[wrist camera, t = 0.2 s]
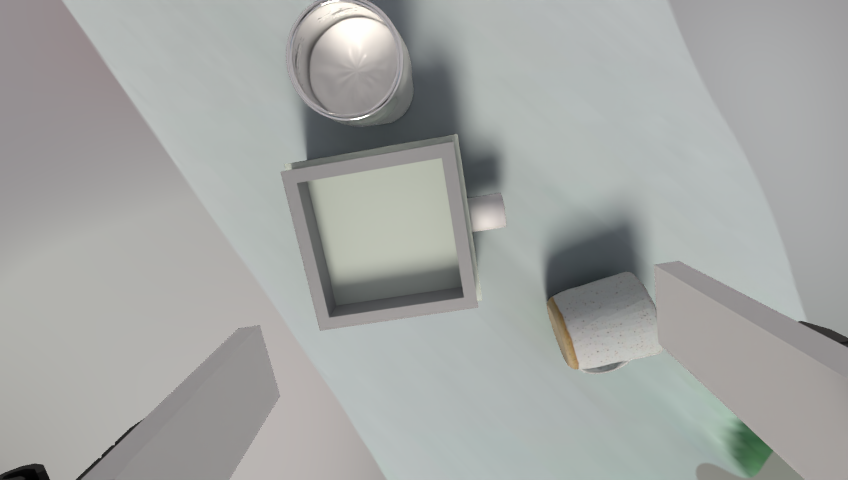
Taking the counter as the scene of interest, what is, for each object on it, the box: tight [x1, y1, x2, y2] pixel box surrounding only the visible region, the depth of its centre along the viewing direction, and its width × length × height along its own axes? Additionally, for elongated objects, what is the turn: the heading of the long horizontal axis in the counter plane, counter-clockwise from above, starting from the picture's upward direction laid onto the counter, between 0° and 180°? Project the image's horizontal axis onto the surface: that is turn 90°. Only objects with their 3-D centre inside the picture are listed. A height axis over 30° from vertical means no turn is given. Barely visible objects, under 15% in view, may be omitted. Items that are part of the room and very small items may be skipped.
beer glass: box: [286, 0, 414, 127], centre depth 31 cm, size 7×7×15 cm
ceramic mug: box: [547, 272, 663, 374], centre depth 39 cm, size 11×8×8 cm
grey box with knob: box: [281, 134, 506, 331], centre depth 36 cm, size 14×17×8 cm
